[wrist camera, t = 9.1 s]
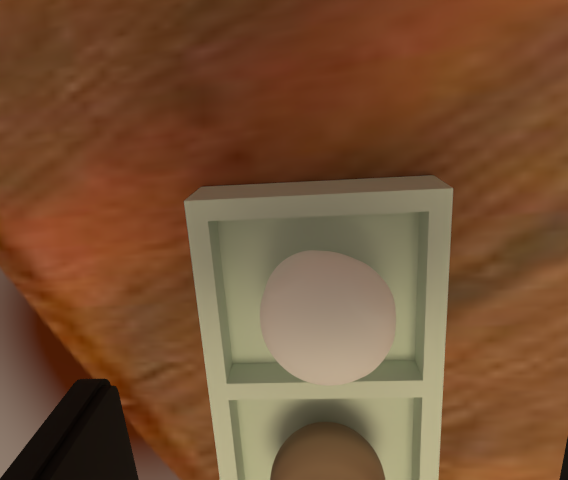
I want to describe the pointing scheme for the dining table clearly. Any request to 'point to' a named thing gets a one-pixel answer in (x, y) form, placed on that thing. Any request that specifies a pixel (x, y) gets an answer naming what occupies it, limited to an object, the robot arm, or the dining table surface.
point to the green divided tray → (247, 300)
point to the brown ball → (326, 455)
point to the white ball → (327, 317)
